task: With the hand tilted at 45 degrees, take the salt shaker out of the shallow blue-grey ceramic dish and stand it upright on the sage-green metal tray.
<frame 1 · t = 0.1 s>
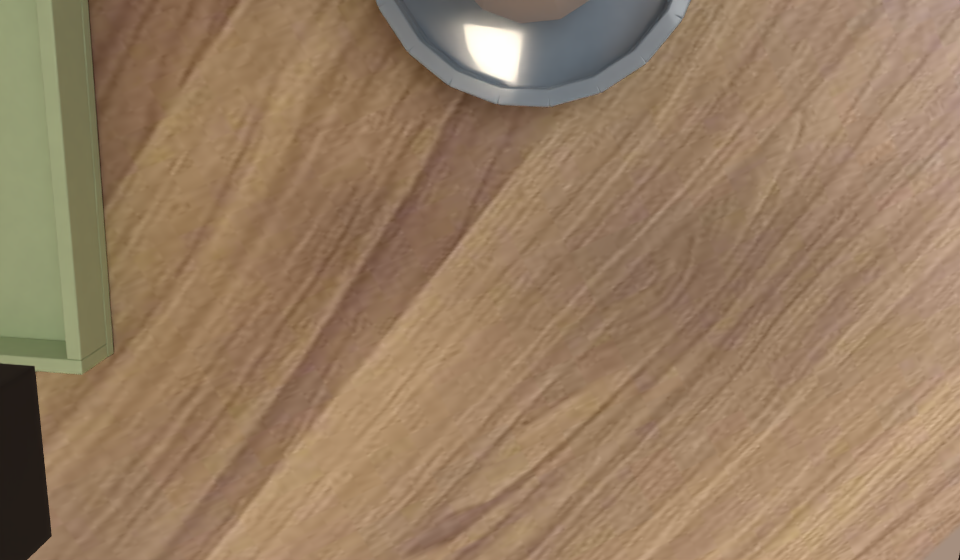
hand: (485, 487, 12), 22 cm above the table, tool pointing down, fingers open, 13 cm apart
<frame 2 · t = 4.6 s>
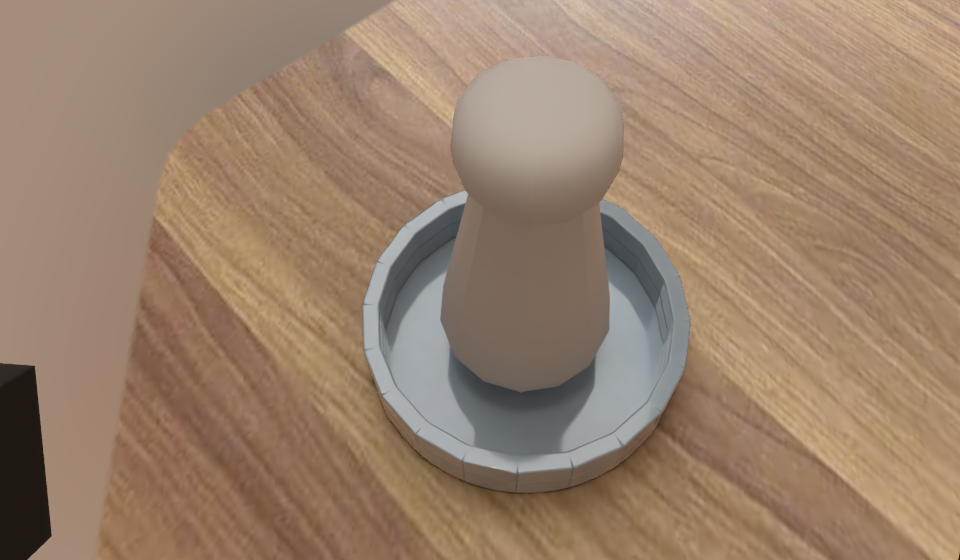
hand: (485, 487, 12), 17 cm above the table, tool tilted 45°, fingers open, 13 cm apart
bowl: (523, 342, 32), on the table
salt shaker: (523, 341, 32), resting on bowl
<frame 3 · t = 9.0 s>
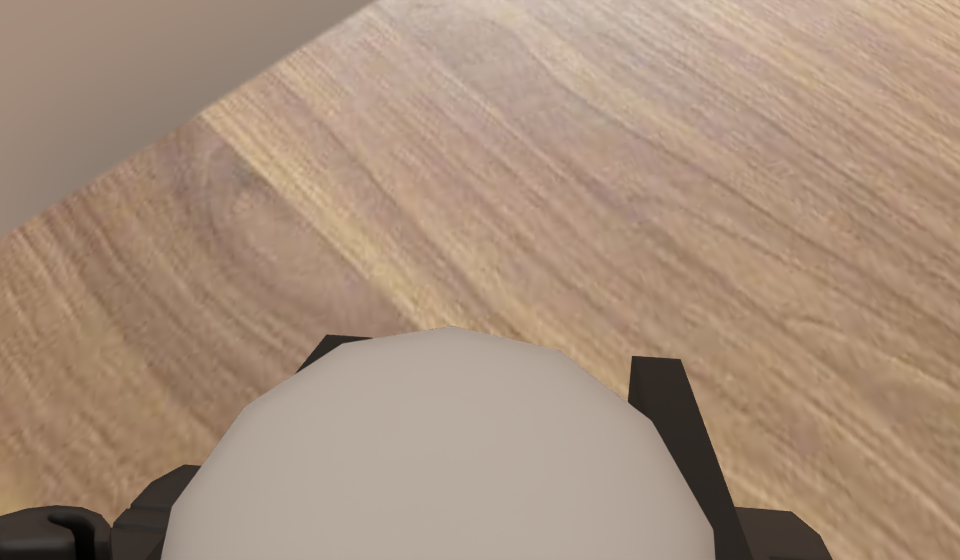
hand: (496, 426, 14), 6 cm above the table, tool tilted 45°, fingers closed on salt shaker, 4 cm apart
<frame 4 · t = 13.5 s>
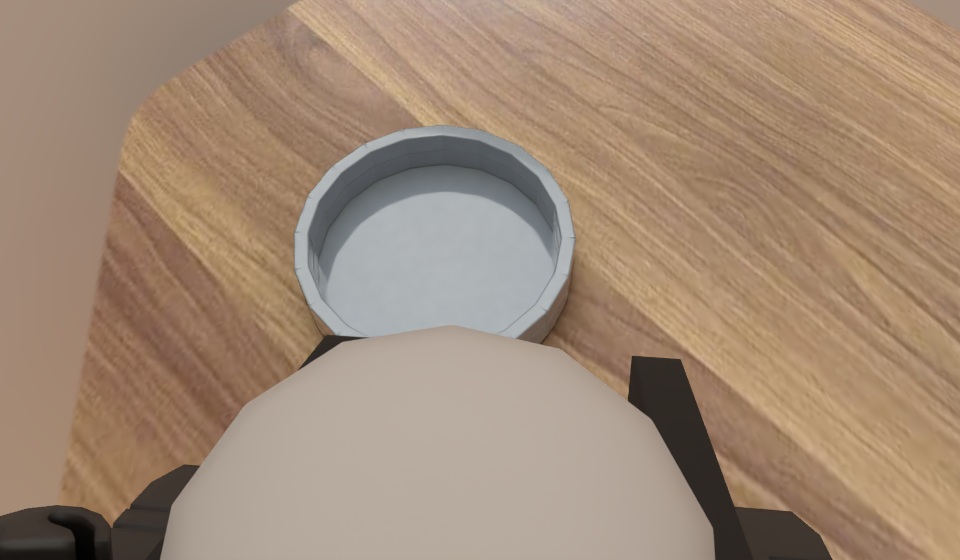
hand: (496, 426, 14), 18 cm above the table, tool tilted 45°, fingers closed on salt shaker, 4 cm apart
bowl: (438, 265, 37), on the table
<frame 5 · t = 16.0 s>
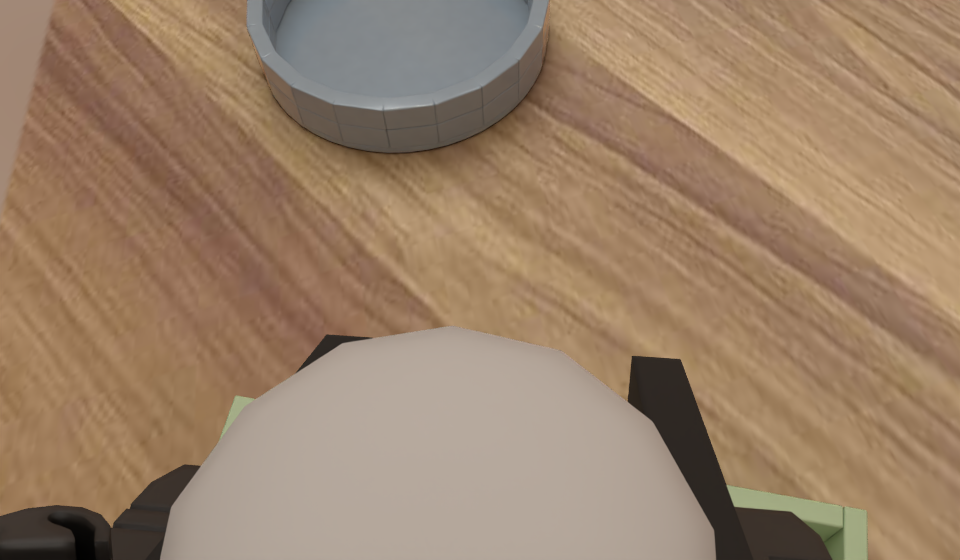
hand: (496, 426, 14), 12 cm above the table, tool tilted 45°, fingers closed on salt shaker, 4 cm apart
bowl: (404, 39, 35), on the table
when the fingers open (6 cm above the table, at t = 17.9 s): salt shaker stays where it is, resting on tray.
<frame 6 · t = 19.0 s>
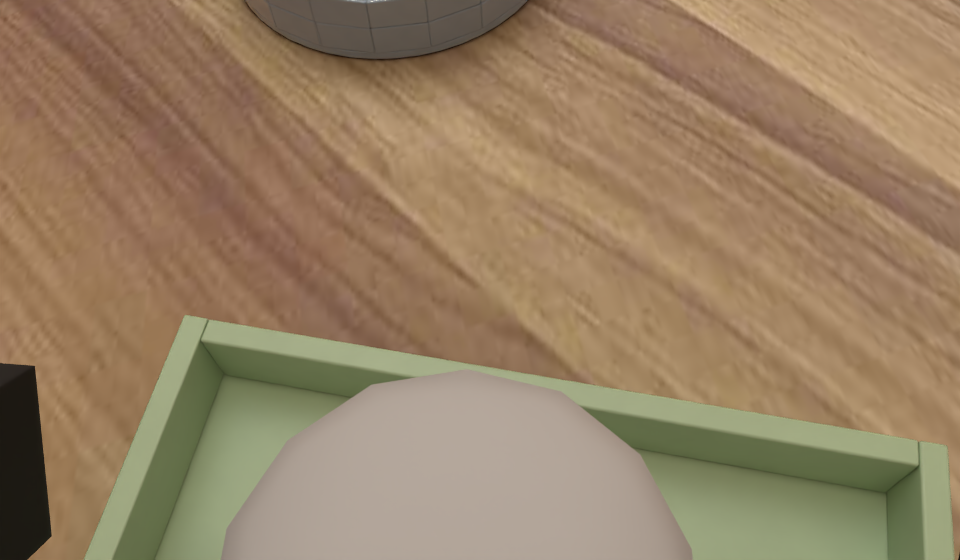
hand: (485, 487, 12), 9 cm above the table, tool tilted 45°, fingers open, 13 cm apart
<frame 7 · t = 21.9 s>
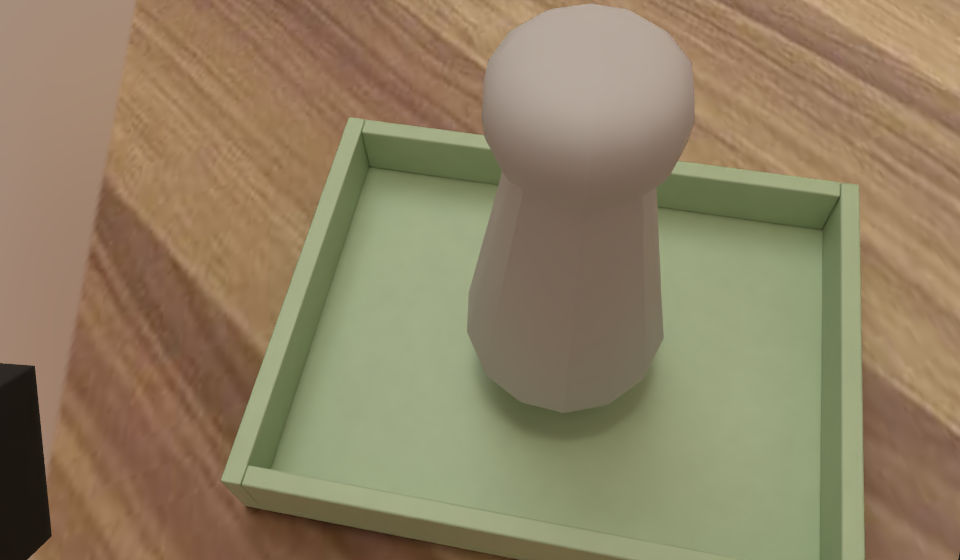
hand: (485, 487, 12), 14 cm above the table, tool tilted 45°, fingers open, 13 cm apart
tray: (561, 356, 29), on the table
salt shaker: (561, 353, 28), resting on tray
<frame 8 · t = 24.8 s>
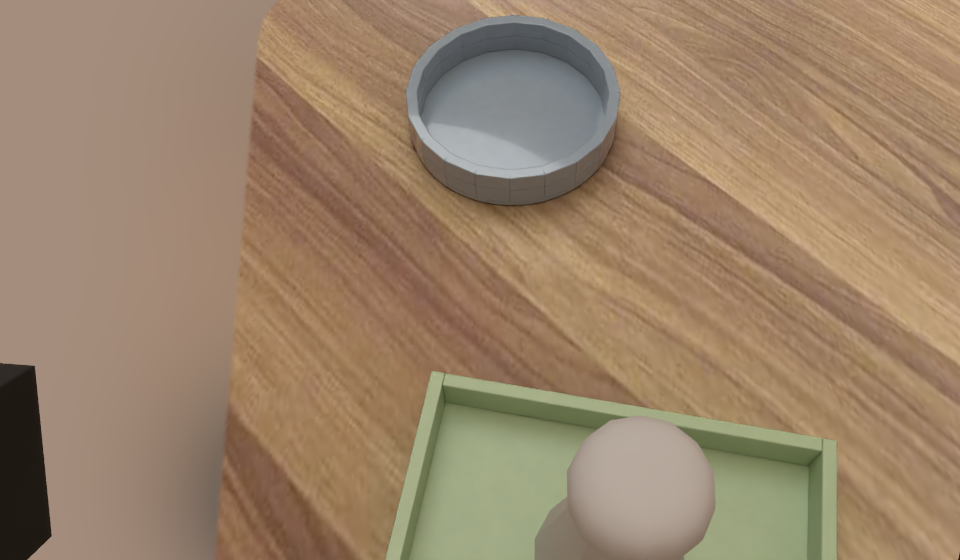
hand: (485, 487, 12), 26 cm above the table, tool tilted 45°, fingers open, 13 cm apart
bowl: (512, 121, 48), on the table
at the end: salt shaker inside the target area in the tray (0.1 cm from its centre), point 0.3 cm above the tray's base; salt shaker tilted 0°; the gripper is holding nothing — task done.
